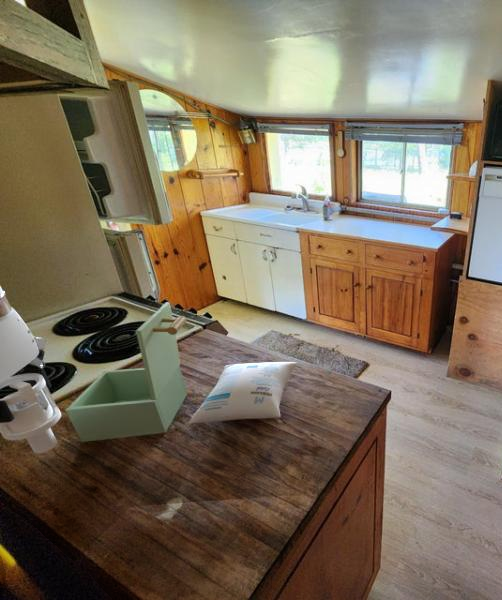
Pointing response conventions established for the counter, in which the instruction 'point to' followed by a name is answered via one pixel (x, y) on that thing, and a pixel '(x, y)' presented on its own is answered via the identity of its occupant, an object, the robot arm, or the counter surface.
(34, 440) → the white cylindrical piece
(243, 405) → the pouch
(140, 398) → the box
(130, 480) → the counter surface
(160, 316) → the lid
